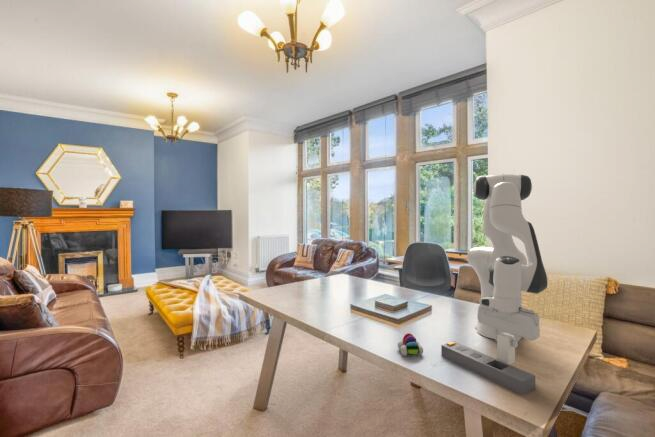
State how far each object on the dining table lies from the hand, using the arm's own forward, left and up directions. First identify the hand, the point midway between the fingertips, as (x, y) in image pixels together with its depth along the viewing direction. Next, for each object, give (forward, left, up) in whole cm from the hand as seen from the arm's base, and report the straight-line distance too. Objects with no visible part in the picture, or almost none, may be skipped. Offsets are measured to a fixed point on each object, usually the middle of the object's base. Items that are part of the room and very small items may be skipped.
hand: (506, 343), depth 112 cm
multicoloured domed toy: (+18, -28, -10) cm, 35 cm away
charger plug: (0, 0, -6) cm, 6 cm away
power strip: (+8, -3, -10) cm, 13 cm away
